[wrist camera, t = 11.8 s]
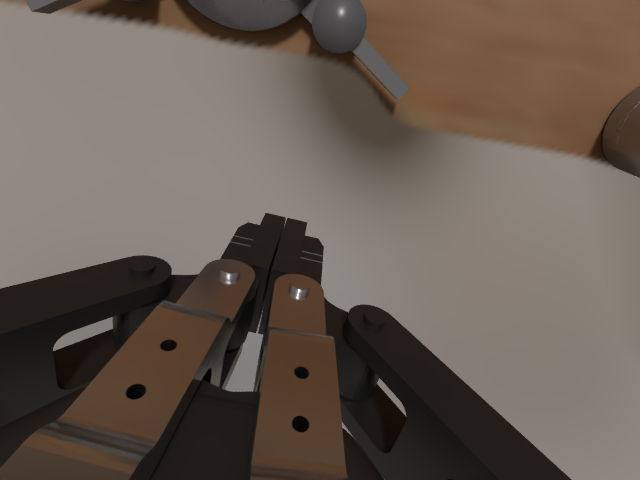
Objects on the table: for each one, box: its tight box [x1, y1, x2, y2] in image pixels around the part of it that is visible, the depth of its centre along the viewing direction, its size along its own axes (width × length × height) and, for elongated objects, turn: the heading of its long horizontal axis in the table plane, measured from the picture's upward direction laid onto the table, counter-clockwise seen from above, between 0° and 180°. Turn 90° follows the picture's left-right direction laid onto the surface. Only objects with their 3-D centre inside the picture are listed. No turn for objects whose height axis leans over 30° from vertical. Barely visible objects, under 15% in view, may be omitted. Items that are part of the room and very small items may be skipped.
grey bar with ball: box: [312, 0, 410, 101], centre depth 32 cm, size 10×4×3 cm, turn 47°
